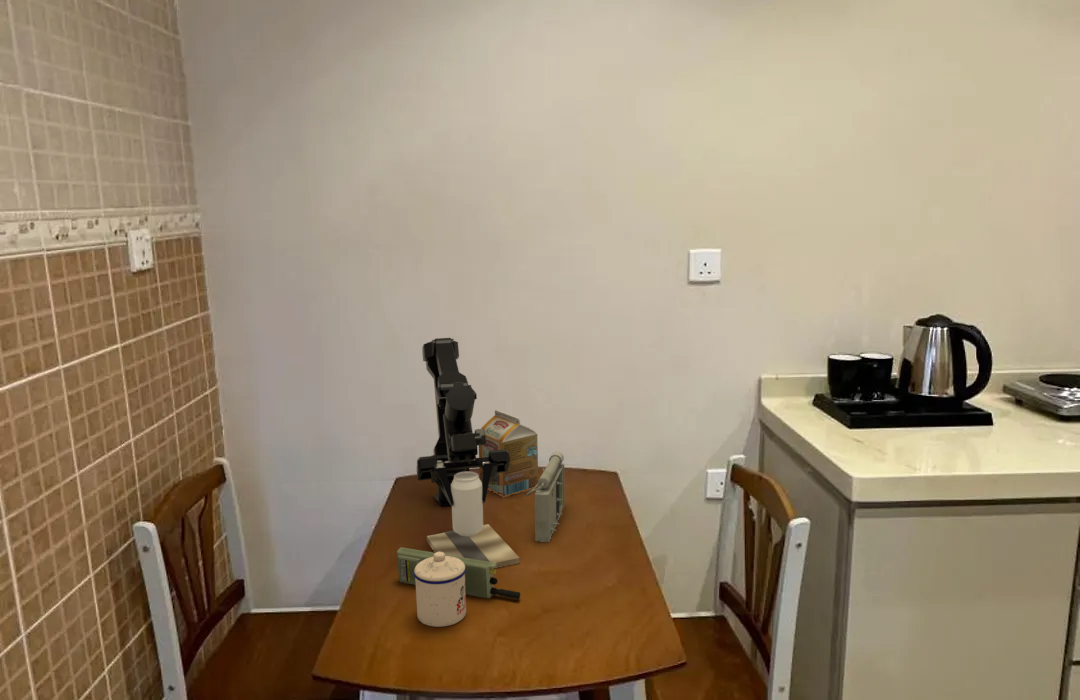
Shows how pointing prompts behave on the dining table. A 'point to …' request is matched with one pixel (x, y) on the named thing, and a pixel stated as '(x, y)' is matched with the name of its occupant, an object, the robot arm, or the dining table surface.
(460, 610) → the teacup with lid
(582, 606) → the dining table surface
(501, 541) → the subfloor board
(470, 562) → the handheld radio
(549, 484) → the geiger counter
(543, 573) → the dining table surface
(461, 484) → the beverage can
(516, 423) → the milk carton
